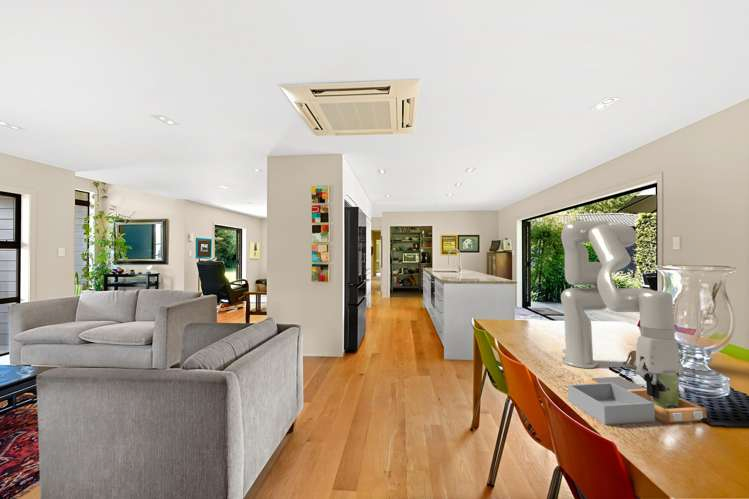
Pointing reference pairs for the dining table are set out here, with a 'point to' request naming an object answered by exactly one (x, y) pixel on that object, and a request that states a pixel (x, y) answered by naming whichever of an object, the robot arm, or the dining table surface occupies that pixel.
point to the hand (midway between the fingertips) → (660, 395)
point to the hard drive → (641, 382)
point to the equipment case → (681, 414)
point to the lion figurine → (632, 360)
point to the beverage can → (667, 390)
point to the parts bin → (611, 403)
